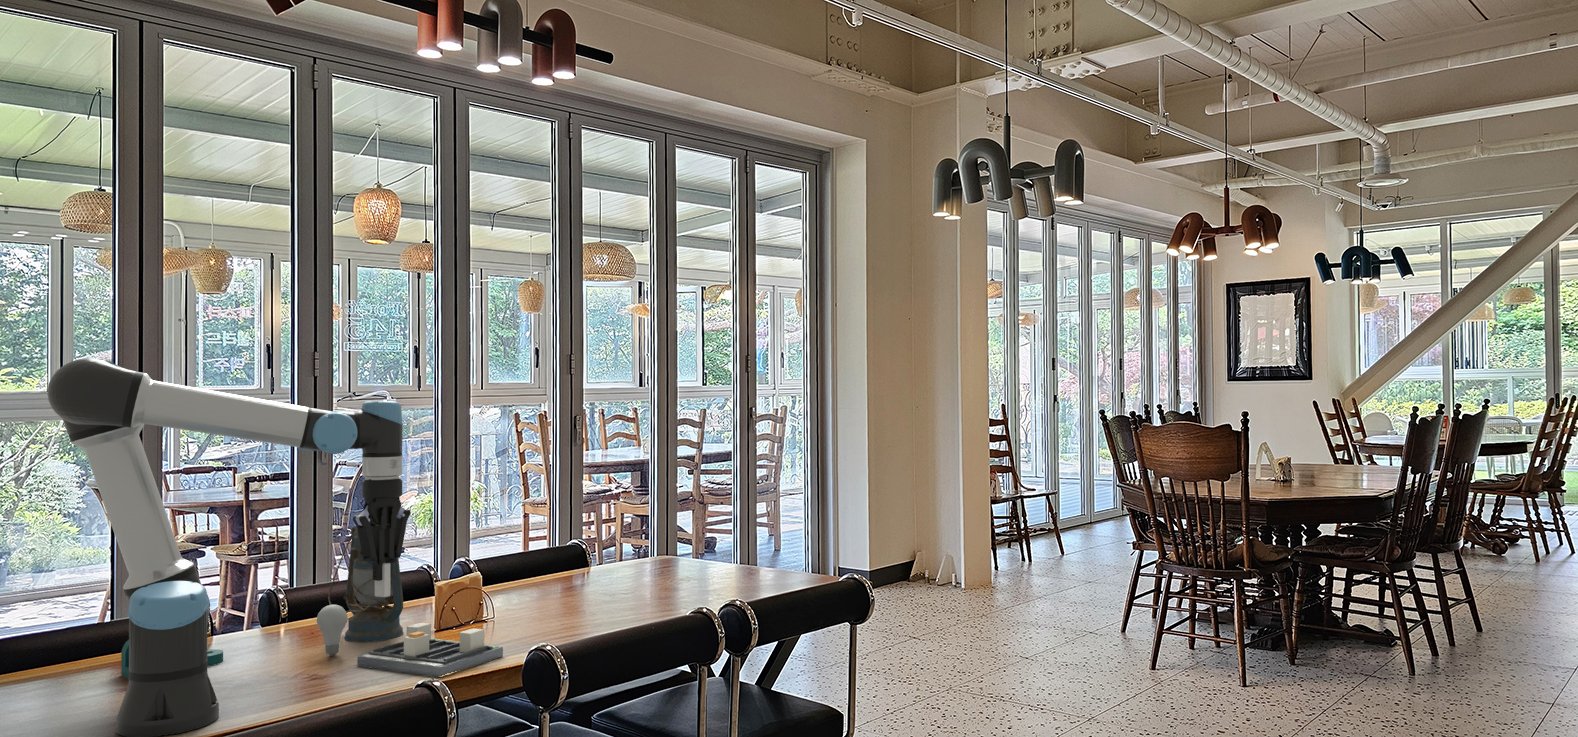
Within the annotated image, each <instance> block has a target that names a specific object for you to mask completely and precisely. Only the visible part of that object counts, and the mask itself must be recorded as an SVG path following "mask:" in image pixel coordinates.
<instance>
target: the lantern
mask: <svg viewBox="0 0 1578 737" xmlns="http://www.w3.org/2000/svg"><path fill="white" fill-rule="evenodd" d="M361 512H362V511H361ZM361 512H356V513H355V515H359V514H360V513H361ZM355 515H354V516H355ZM350 531H351V534H350V537H349V539H348V542H347V544H346V546H345V549H344V550H343V552H342V555H341V558H340V560H339V562H338V565H337V568H336V571H335V573H334V576H333V577H332V578H333V579H332V582H331V583H330V585H329V586H330V587H329V591H328V597H327V599H328V602H329V605H333V604H332V602H331V600H330V599H331V592H332V589H333V585H334V582H335V579H336V577H337V574H338V571H339V568H340V565H341V564H342V560H343V558H344V556H345V553H346V551H347V549H348V547H349V544H350V551H349V552H350V553H349V561H348V570H347V572H348V573H347V581H346V582H347V583H346V589H345V595H343V600H345V603H346V606H347V608H348V610H347V611H346V610H345V611H346V613H350V612H351V613H352V616H350V617H349V618H348V619H347V622H348V624H347V625H348V629H347V630H346V631H345V632H344V640H346V641H348V642H356V643H362V642H365V643H367V642H368V643H369V642H376V641H377V642H378V641H385V640H391V639H394V638H398V637H400V636H402V635H403V634H404V632H403V631H404V630H403V629H404V627H403V626H402V625H401V624H400V623H401V622H400V617H401V614H402V612H403V609H404V596H403V585H402V579H401V578H402V577H401V569H400V560H399V558H396V559H397V561H396V562H395V563H392V578H390V596H388V597H378V596H375V580H373V566H372V564H371V563H368V562H365V561H364V559H363V554H362V549H361V544H360V539H359V534H358V529H357V526H356V525H355V526H353V527H351V530H350ZM358 602H359V603H358ZM392 603H393V604H392ZM390 604H392V605H390Z"/></svg>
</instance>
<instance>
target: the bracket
mask: <svg viewBox="0 0 1578 737" xmlns="http://www.w3.org/2000/svg"><path fill="white" fill-rule="evenodd" d="M121 648H122V649H121V653H120V656H121V658H120V661H121V662H120V664H121V665H120V666H121V667H120V669H121V670H120V671H121V672H120V673H121V677H124V678H127V679H128V680H129V639H128V640H127V641H125V642H124V644H123V646H122V647H121ZM221 663H224V650H223V649H218V648H217V649H214V648H213V649H207V667H211V666H216V665H218V664H221Z"/></svg>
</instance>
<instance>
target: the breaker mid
mask: <svg viewBox="0 0 1578 737" xmlns="http://www.w3.org/2000/svg"><path fill="white" fill-rule="evenodd" d="M403 641H404V655H405V656H413V657H416V655H419V654H422V653H426V652H429V635H428V634H424V632H414V633H410V634H409V636H407V635H406V636H405V637H403Z"/></svg>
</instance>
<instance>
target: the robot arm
mask: <svg viewBox="0 0 1578 737" xmlns="http://www.w3.org/2000/svg"><path fill="white" fill-rule="evenodd" d="M47 400H48V403H49V405H50V407H51V408H52V410H53V411H54V413H55V414H56V415H57V416H59V417H60V418H61V419H62V422H63V424H64V426H65V430H66V433H67V435H68V437H69V441H70V443H71V445H74V446H76V447H79V448H81V449H82V450H84V451H85V455H86V458H87V461H88V463H89V466H90V468H91V472H92V475H93V477H94V480H95V483H96V485H97V489H98V491H99V494H100V496H101V500H102V502H103V503H102V504H103V505H104V508H105V511H106V513H107V516H108V519H109V522H110V525H111V529H112V531H113V533H114V536H115V539H116V542H117V545H118V547H119V551H120V553H121V556H122V558H123V562H124V565H125V567H126V570H127V573H128V577H127V579H126V580H125V583H124V585H123V586H122V590H123V591H124V594H125V597H126V600H127V604H128V606H127V616H128V640H129V679H128V684H127V687H126V691H125V694H124V697H123V698H122V699H123V700H122V703H121V705H120V709H119V711H118V713H117V716H116V725H115V726H116V733H117V734H118V735H120V736H123V737H162V736H161V735H164V736H169V735H168V734H170V735H174V734H173V733H176V734H181V733H185V731H186V732H190V731H193V730H196V729H200V728H203V727H204V726H205V727H206V726H207V725H210V724H212V723H214V722H215V721H216V720H218V719H219V715H220V712H219V711H220V705H219V700H218V698H217V696H216V693H215V690H214V687H213V684H212V681H211V679H210V677H209V674H208V666H207V650H208V626H209V625H208V622H209V617H210V613H211V608H210V607H211V602H210V597H209V594H208V591H207V588H206V587H205V586H204V585H203V584H202V582H201V579H200V577H199V574H198V571H197V569H196V565H195V563H194V562H193V561H190V560H188V559H186V558H183V557H182V554H181V551H180V549H179V546H178V543H177V540H176V537H175V534H174V532H173V529H172V525H171V523H170V519H169V517H168V514H167V511H166V508H165V505H164V503H163V500H162V497H161V495H160V494H161V493H160V491H159V488H158V485H157V483H156V480H155V477H154V474H153V471H152V469H151V466H150V463H149V460H148V456H147V453H146V452H145V447H144V445H143V442H142V440H141V437H140V433H141V431H142V430H143V428H144V427H145V425H148V426H149V425H151V426H156V427H164V428H170V429H177V430H183V431H190V432H195V433H203V434H209V435H216V436H222V437H229V438H235V439H243V440H247V441H248V440H249V441H256V442H263V443H268V444H275V445H279V446H289V447H294V448H297V449H298V450H300V451H312V452H317V451H319V452H324V453H326V454H332V455H339V454H342V453H345V451H348V450H358V449H361V450H362V455H361V456H362V457H361V460H362V461H361V462H362V463H361V464H362V465H361V469H362V470H361V472H362V473H361V476H362V478H363V477H364V479H363V480H362V482H361V484H362V485H361V490H362V492H361V494H362V495H361V496H362V498H363V499H364V503H363V506H362V511H361V513H360V512H359V513H360V514H359V515H353V516H352V521H353V523H354V524H355V527H356V526H357V529H358V534H359V539H360V544H361V549H362V554H363V559H364V561H365V562H368V563H371V564H372V566H373V580H375V596H378V597H388V596H390V578H392V563H395V562H396V561H397V559H396V558H398V559H399V558H401V557H402V552H403V551H402V550H403V546H404V541H405V534H406V530H407V529H406V528H407V523H408V520H409V518H410V516H411V514H412V513H411V512H412V511H411V510H410V509H405V508H404V507H403V506H402V502H401V500H400V497H402V495H403V479H402V478H400V476H402V475H403V425H404V423H403V414H402V411H403V410H402V409H403V408H402V405H401V404H400V402H398V401H395V400H391V401H390V400H389V401H387V400H386V401H385V400H381V401H380V400H379V401H373V400H372V401H364V402H363V403H362V405H361V406H362V407H361V409H360V410H357V411H355V410H354V411H331V410H325V409H320V408H314V407H308V406H302V405H297V404H291V403H285V402H279V401H274V400H267V399H262V398H256V397H250V396H246V395H239V394H233V393H227V392H223V391H216V390H212V389H211V390H210V389H206V388H205V389H203V388H199V387H193V386H187V385H181V384H175V383H170V382H164V381H158V380H153V378H151V376H150V375H149V374H148V373H146V372H140V371H135V370H131V369H127V368H124V367H121V366H120V365H118V364H116V363H113V362H111V361H108V360H103V359H97V358H88V357H87V358H80V359H74V360H72V361H69V362H67V363H65V364H64V365H63V366H61V367H59V369H57V370H56V371H55V372H54V374H53V375H52V376H51V378H50V380H49V383H48V385H47ZM180 732H181V733H180ZM166 734H167V735H166Z"/></svg>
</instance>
